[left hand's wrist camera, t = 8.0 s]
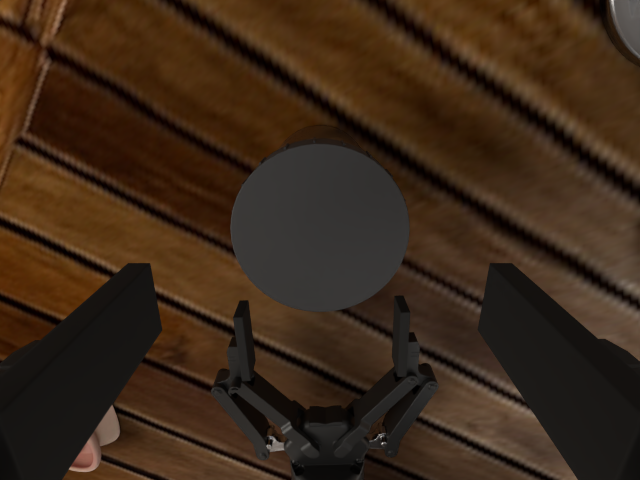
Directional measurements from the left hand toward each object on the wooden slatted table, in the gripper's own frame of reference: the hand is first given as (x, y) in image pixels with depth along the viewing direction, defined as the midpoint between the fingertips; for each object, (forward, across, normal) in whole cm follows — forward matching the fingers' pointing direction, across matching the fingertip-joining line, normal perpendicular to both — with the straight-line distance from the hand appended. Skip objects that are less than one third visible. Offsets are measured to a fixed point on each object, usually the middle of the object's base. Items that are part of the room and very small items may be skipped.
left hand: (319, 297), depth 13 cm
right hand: (+16, 0, +10) cm, 19 cm away
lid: (+7, 0, 0) cm, 7 cm away
